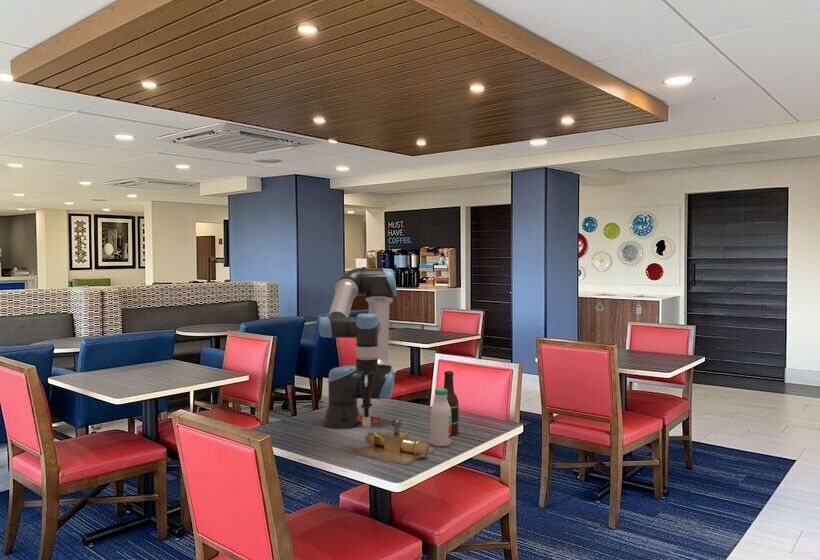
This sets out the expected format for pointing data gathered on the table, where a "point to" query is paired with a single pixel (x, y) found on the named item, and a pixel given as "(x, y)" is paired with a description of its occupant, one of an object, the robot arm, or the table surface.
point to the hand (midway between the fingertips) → (366, 425)
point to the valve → (395, 447)
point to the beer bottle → (452, 400)
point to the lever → (382, 420)
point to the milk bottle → (440, 419)
